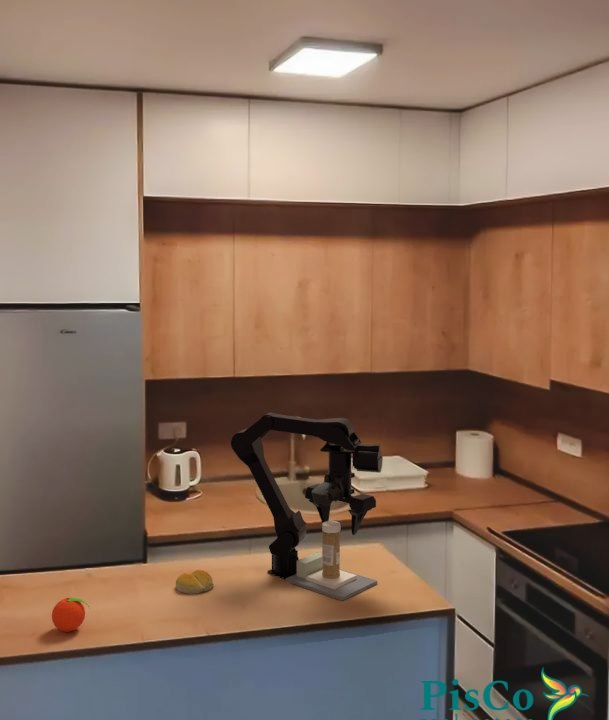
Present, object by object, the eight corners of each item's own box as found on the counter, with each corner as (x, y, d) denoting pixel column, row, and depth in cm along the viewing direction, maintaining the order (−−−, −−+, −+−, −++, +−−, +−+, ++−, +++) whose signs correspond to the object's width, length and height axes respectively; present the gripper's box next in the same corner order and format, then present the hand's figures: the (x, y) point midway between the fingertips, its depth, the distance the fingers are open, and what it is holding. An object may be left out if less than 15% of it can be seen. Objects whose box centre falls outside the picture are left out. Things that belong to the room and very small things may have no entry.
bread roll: (170, 586, 198) (170, 570, 198) (204, 579, 203) (204, 564, 203) (183, 598, 191) (183, 581, 191) (218, 590, 196) (218, 574, 196)
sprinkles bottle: (343, 576, 200) (344, 523, 199) (328, 580, 198) (329, 526, 196) (332, 570, 204) (333, 519, 203) (318, 574, 202) (318, 522, 200)
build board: (285, 581, 202) (285, 562, 201) (321, 566, 212) (321, 548, 212) (342, 600, 190) (342, 581, 189) (377, 583, 200) (377, 565, 200)
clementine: (92, 621, 178) (91, 590, 177) (89, 635, 171) (88, 603, 170) (54, 624, 176) (53, 592, 176) (49, 638, 169) (48, 605, 169)
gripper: (290, 469, 200) (290, 530, 202) (349, 482, 188) (348, 547, 190) (319, 461, 209) (319, 520, 210) (377, 473, 196) (376, 535, 198)
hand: (339, 530), depth 202 cm, fingers open, 9 cm apart
